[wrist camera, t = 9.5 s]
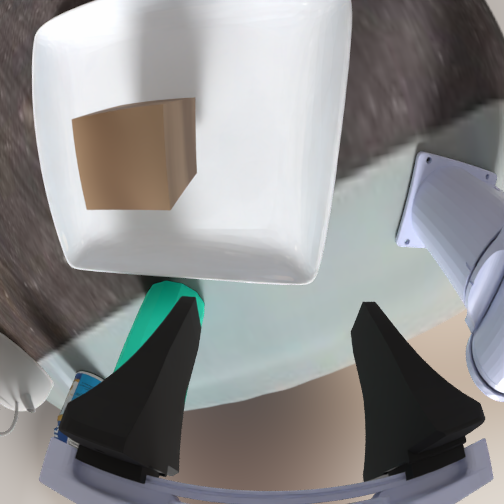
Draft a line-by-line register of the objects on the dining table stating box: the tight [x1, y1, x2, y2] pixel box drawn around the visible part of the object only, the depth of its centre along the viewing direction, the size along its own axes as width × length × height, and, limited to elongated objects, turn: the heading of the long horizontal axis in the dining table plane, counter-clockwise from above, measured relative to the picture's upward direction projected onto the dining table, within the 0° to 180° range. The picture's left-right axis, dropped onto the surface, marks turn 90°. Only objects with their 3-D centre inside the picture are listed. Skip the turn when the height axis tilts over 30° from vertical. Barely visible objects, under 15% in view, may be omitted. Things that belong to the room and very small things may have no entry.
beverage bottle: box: [54, 371, 103, 449], centre depth 32 cm, size 8×8×20 cm
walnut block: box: [72, 97, 197, 210], centre depth 12 cm, size 4×4×5 cm
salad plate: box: [32, 0, 352, 285], centre depth 16 cm, size 21×21×3 cm
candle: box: [113, 281, 204, 400], centre depth 21 cm, size 6×6×12 cm
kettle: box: [0, 333, 54, 436], centre depth 34 cm, size 25×23×23 cm
